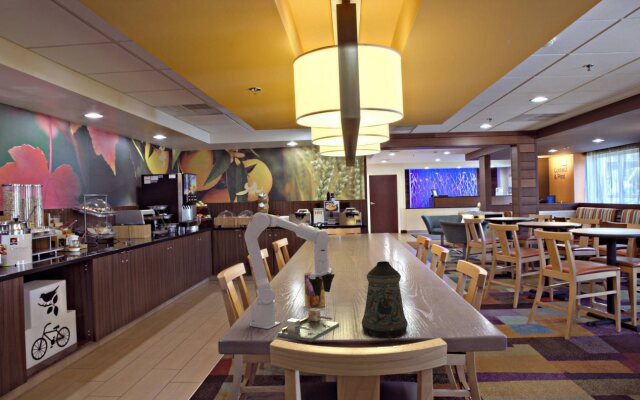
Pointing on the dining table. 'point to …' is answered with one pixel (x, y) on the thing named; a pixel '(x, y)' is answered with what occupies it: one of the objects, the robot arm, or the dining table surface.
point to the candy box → (310, 295)
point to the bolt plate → (310, 335)
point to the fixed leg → (295, 326)
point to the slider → (315, 315)
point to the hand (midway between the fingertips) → (322, 293)
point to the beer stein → (384, 303)
